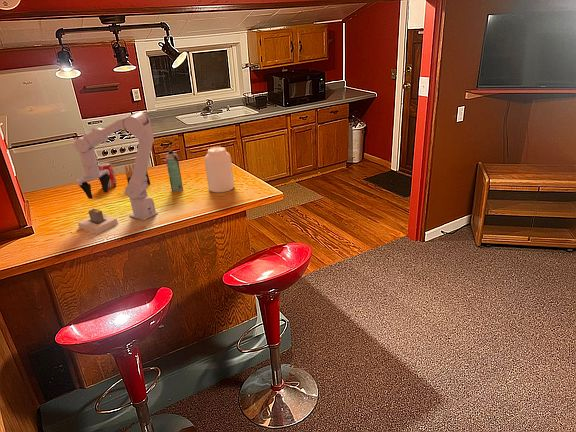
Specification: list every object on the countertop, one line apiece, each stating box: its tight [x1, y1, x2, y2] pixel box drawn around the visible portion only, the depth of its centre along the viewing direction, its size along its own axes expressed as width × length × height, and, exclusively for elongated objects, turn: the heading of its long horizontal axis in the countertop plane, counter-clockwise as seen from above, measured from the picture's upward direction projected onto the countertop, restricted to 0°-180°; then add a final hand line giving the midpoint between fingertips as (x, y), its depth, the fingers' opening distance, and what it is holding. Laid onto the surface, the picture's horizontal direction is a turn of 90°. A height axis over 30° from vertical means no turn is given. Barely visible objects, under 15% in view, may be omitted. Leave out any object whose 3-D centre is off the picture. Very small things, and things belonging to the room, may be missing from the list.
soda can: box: [98, 161, 117, 189], centre depth 215 cm, size 7×7×12 cm
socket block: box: [77, 214, 119, 235], centre depth 176 cm, size 12×10×2 cm
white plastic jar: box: [204, 146, 235, 193], centre depth 204 cm, size 12×12×20 cm
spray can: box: [165, 149, 184, 193], centre depth 205 cm, size 6×6×20 cm
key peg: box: [88, 208, 104, 224], centre depth 175 cm, size 3×5×7 cm, turn 58°
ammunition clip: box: [124, 162, 151, 185], centre depth 215 cm, size 11×2×12 cm, turn 114°
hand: (98, 195), depth 183 cm, fingers open, 7 cm apart
